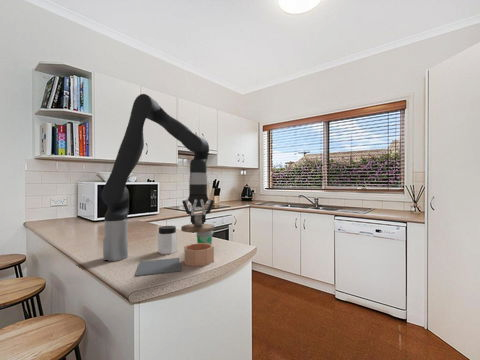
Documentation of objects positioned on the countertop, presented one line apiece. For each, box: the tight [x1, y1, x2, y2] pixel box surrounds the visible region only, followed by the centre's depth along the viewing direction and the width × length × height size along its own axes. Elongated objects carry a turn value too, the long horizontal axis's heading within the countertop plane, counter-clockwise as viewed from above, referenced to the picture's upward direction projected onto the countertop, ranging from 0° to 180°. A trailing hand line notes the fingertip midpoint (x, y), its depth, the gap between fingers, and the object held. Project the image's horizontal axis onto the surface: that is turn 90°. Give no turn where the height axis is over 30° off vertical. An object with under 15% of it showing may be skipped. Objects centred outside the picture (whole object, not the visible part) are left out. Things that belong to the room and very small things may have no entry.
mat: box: [134, 257, 182, 277], centre depth 96 cm, size 16×16×1 cm
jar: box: [157, 225, 178, 255], centre depth 117 cm, size 9×8×12 cm
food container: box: [196, 230, 214, 245], centre depth 120 cm, size 12×6×10 cm, turn 168°
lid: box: [180, 213, 215, 234], centre depth 103 cm, size 14×14×6 cm
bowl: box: [183, 243, 215, 267], centre depth 103 cm, size 12×12×6 cm
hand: (198, 223), depth 103 cm, fingers closed on lid, 3 cm apart
